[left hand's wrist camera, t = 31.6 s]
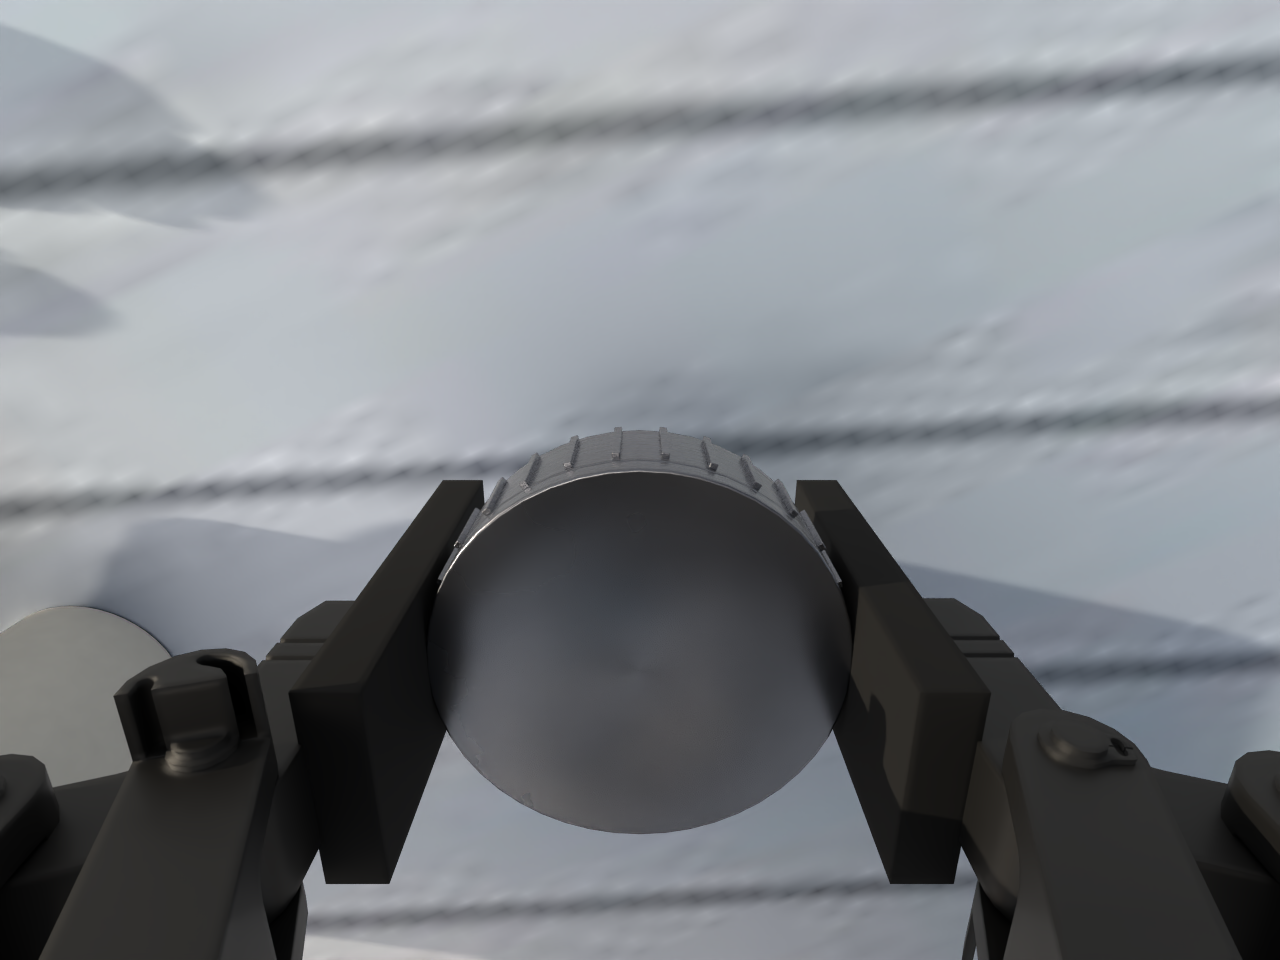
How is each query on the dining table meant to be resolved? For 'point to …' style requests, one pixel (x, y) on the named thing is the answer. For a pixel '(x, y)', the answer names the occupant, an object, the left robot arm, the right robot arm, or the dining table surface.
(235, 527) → the dining table surface
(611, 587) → the lid
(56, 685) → the bottle
